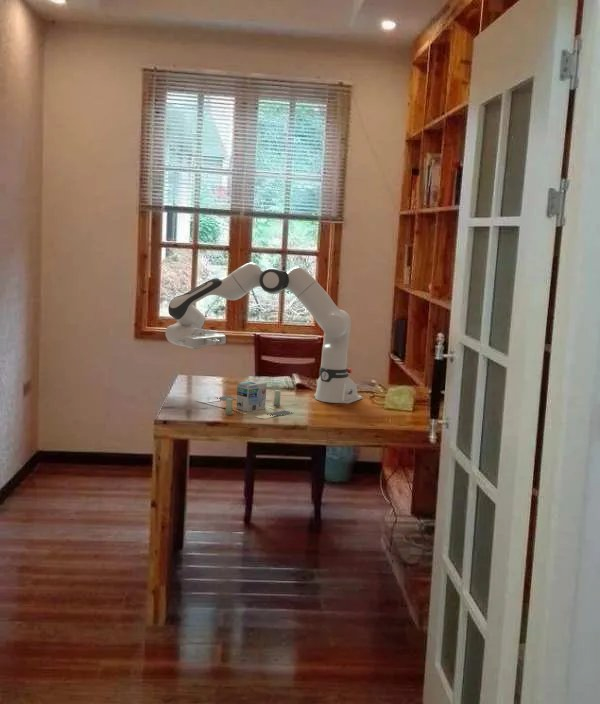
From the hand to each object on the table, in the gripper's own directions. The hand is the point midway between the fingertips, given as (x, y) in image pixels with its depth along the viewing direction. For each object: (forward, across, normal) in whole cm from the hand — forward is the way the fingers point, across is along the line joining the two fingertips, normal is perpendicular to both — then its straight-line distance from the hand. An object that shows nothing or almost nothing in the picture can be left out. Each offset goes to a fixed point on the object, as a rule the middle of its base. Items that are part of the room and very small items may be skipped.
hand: (217, 342), depth 328 cm
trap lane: (+17, 0, +24) cm, 29 cm away
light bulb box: (+20, 0, +24) cm, 32 cm away
